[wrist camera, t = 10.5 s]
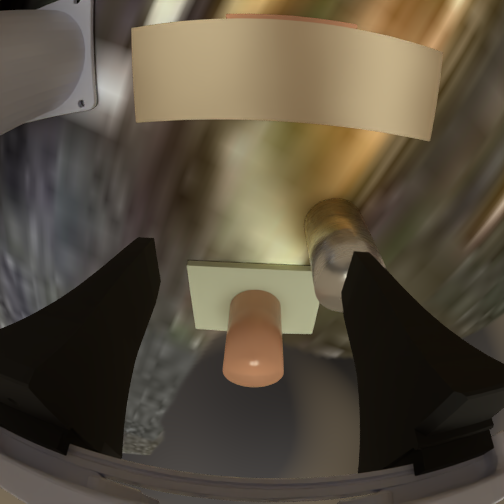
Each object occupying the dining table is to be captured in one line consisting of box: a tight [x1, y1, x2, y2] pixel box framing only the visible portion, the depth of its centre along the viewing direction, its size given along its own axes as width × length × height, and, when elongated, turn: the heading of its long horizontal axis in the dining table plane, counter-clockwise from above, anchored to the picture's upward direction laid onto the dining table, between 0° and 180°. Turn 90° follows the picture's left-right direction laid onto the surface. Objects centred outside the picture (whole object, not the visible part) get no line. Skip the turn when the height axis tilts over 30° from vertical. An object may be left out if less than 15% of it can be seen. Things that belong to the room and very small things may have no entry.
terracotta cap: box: [223, 290, 284, 387], centre depth 22 cm, size 4×4×6 cm
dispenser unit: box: [132, 14, 443, 141], centre depth 12 cm, size 13×5×6 cm, turn 89°
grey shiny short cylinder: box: [304, 198, 387, 312], centre depth 18 cm, size 4×4×6 cm
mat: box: [187, 260, 320, 334], centre depth 24 cm, size 10×7×1 cm
